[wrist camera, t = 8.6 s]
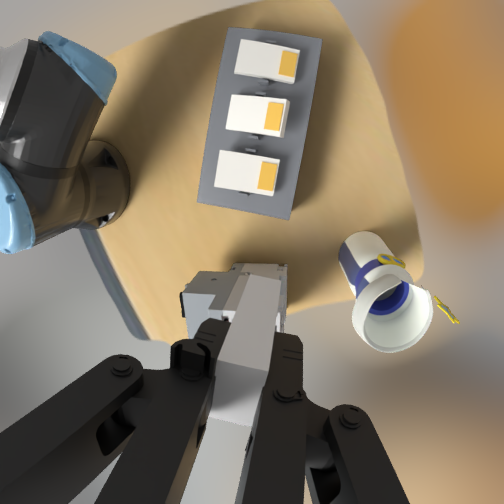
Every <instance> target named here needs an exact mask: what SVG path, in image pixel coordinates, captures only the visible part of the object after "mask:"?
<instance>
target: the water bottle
mask: <svg viewBox="0 0 504 504" xmlns="http://www.w3.org/2000/svg"><path fill="white" fill-rule="evenodd" d="M338 258H339V264H340V267H341V269H342V270H343V272H344V274H345V276H346V278H347V281H348V283H349V286H350V288H351V290H352V292H353V293H354V295H355V296H356V303H355V306H354V309H353V312H352V322H353V326H354V328H355V330H356V332H357V333H358V335H359V336H360V337H361V338H362V339H363V340H364V341H365V342H367V343H368V344H369V345H370V346H371V347H373V348H374V349H376V350H378V351H382V352H398V351H401V350H405V349H407V348H409V347H411V346H412V345H414V344H415V343H416V342H417V341H418V340H420V339H421V338H422V336H423V335H424V334H425V332H426V331H427V329H428V327H429V325H430V323H431V320H432V316H433V304H432V298H431V295H430V292H429V291H428V290H427V289H423V287H422V285H421V287H422V289H421V288H419V287H416V286H414V283H413V280H412V278H411V276H410V274H409V273H408V272H407V271H406V270H405V269H404V268H405V263H404V262H403V261H402V260H400V259H398V258H396V257H395V256H394V255H393V253H392V252H391V251H390V250H389V249H388V247H387V246H386V244H385V243H384V242H383V240H382V239H381V238H380V237H379V236H378V235H376V234H374V233H372V232H368V231H361V232H357V233H354V234H352V235H350V236H349V237H348V238H347V239H346V240H345V241H344V242H343V244H342V245H341V247H340V250H339V257H338ZM434 298H435V300H436V301H437V302H438V305H437V306H438V307H439V308H440V309H441V310H442V311H444V312H445V313H446V314H447V316H448V317H449V318H450V320H451V321H452V322H453V323H455V322H457V323H458V324H460V322H459V321H458V320H457V319H456V317H455V316H454V315H453V314H452V313H451V311H450V310H449V308H448V307H447V306H446V305H444V304H443V303H442V302H441V301H440V300H439V299H438V298H437V297H436V296H434Z"/></svg>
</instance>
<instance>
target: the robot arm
mask: <svg viewBox="0 0 504 504" xmlns="http://www.w3.org/2000/svg"><path fill="white" fill-rule="evenodd" d="M116 78H117V72H116V69H115V67H114V66H113V65H112V64H111V63H110V62H108V61H107V60H105V59H104V58H102V57H101V56H99V55H97V54H95V53H94V52H92V51H90V50H89V49H87V48H85V47H83V46H81V45H79V44H77V43H75V42H73V41H70V40H68V39H66V38H64V37H62V36H60V35H58V34H56V33H53V32H50V31H46V32H44V33H43V34H42V35H41V36H39V38H38V41H34V40H30V39H26V38H24V39H22V40H21V41H19V42H17V43H15V44H14V45H12V46H10V47H7V48H4V47H0V251H1V252H3V253H7V254H13V253H16V252H19V251H21V250H24V249H30V248H32V247H33V246H35V245H37V244H39V243H41V242H43V241H45V240H48V239H50V238H52V237H54V236H56V235H58V234H61V233H63V232H65V231H67V230H69V229H72V228H77V229H88V230H94V229H99V228H102V227H104V226H106V225H109V224H111V223H112V222H114V221H115V220H116V219H117V218H118V217H119V216H120V215H121V213H122V212H123V210H124V208H125V206H126V204H127V201H128V197H129V191H130V178H129V172H128V168H127V165H126V163H125V161H124V159H123V157H122V155H121V154H120V153H119V151H118V150H117V149H116V148H115V147H113V146H112V145H111V144H109V143H107V142H104V141H98V140H94V141H89V140H90V137H91V135H92V133H93V130H94V128H95V126H96V123H97V121H98V119H99V117H100V115H101V112H102V110H103V108H104V106H106V105H107V102H108V101H107V99H108V97H109V94H110V92H111V90H112V88H113V86H114V83H115V81H116ZM280 288H281V281H280V280H275V279H271V278H266V277H261V276H257V275H252V274H250V276H249V279H248V281H247V284H246V287H245V289H244V292H243V294H242V297H241V299H240V302H239V305H238V307H237V310H236V312H235V315H234V318H233V320H232V323H231V322H227V321H223V320H218V319H214V318H208V319H207V320H205V321H204V322H202V323H201V325H200V326H199V328H198V330H197V332H196V334H195V335H194V338H193V339H182V340H180V341H177V342H175V343H174V344H173V345H172V346H171V356H170V368H169V369H164V370H151V369H143V367H142V365H141V363H140V361H138V360H137V359H136V358H134V357H132V356H129V355H122V354H120V355H113V356H111V357H108V358H107V359H105V360H104V361H102V362H101V363H99V364H98V365H96V366H95V367H94V368H92V369H91V370H89V371H88V372H86V373H85V374H84V375H82V376H81V377H79V378H78V379H77V380H75V381H74V382H72V383H71V384H69V385H68V386H67V387H65V388H64V389H63V390H61V391H59V392H58V393H57V394H55V395H54V396H53V397H51V398H50V399H48V400H47V401H45V402H44V403H43V404H41V405H40V406H38V407H37V408H35V409H34V410H33V411H31V412H30V413H28V414H27V415H25V416H24V417H23V418H21V419H20V420H19V421H17V422H15V423H14V424H13V425H11V426H10V427H8V428H7V429H5V430H4V431H3V432H1V433H0V504H68V503H69V502H70V501H71V500H72V499H74V498H75V497H76V496H77V495H78V494H79V493H80V492H81V491H82V490H83V489H84V488H85V487H86V486H87V485H89V484H90V483H91V482H92V481H93V480H94V479H95V478H96V477H97V476H98V475H99V474H100V473H101V472H102V471H103V470H104V469H105V468H106V467H107V466H108V465H109V464H110V463H111V462H112V461H113V460H114V459H115V458H116V457H117V456H118V455H119V454H121V453H122V454H121V456H120V458H119V460H118V461H117V463H116V465H115V467H114V468H113V470H112V472H111V474H110V476H109V477H108V479H107V481H106V483H105V485H104V487H103V488H102V490H101V492H100V494H99V496H98V498H97V499H96V501H95V503H94V504H180V502H181V499H182V496H183V493H184V490H185V487H186V485H187V482H188V479H189V476H190V473H191V470H192V467H193V464H194V462H195V459H196V456H197V453H198V450H199V447H200V444H201V441H202V439H203V436H204V433H205V430H206V423H207V419H208V416H209V417H211V418H215V419H218V420H222V421H227V422H231V423H235V424H240V425H244V426H250V427H252V431H251V434H250V437H249V440H248V443H247V446H246V449H245V451H246V454H245V459H244V464H243V468H242V473H241V477H240V482H239V487H238V491H237V496H236V501H235V504H303V501H304V484H305V476H306V479H307V483H308V487H309V491H310V495H311V499H312V503H313V504H410V503H409V501H408V499H407V497H406V494H405V492H404V490H403V488H402V485H401V483H400V481H399V479H398V477H397V474H396V472H395V470H394V468H393V466H392V464H391V462H390V459H389V457H388V455H387V453H386V451H385V449H384V447H383V445H382V443H381V441H380V439H379V436H378V434H377V432H376V430H375V428H374V426H373V424H372V422H371V420H370V418H369V416H368V415H367V414H366V412H364V411H363V410H362V409H360V408H359V407H356V406H353V405H346V404H343V405H339V406H336V407H335V408H333V409H332V410H328V409H325V408H323V407H320V406H318V405H316V404H314V403H313V402H311V401H310V400H309V399H308V398H307V396H306V393H305V391H304V390H303V344H302V342H301V340H300V339H299V337H298V336H296V335H291V334H286V333H281V332H276V331H275V324H276V317H277V310H278V303H279V295H280ZM209 413H210V414H209Z"/></svg>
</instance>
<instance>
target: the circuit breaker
mask: <svg viewBox="0 0 504 504" xmlns="http://www.w3.org/2000/svg"><path fill="white" fill-rule="evenodd" d="M250 274H252V275H257V276H261V277H266V278H271V279H275V280H280V281H281V288H280V295H279V303H278V310H277V317H276V324H275V331H276V332H281V333H284V323H285V321H286V309H287V264H284V266H279V264H256V263H234V264H233V266H232V267H231V269H230V271H229V272H212V271H199V272H198V273H197V275H196V276H195V277H194V278H193V280H192V281H191V282H190V283H189V284H186V285H185V290H184V291H183V292H181V293H180V302H181V308H182V317H185V318H186V324H187V330H188V337H189V339H193V338H194V335H195V334H196V332H197V330H198V328H199V326H200V325H201V323H202V322H204V321H205V320H207V319H208V318H214V319H218V320H223V321H227V322H231V323H232V320H233V318H234V315H235V312H236V310H237V307H238V305H239V302H240V299H241V297H242V294H243V292H244V289H245V287H246V284H247V281H248V279H249V276H250Z"/></svg>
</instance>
